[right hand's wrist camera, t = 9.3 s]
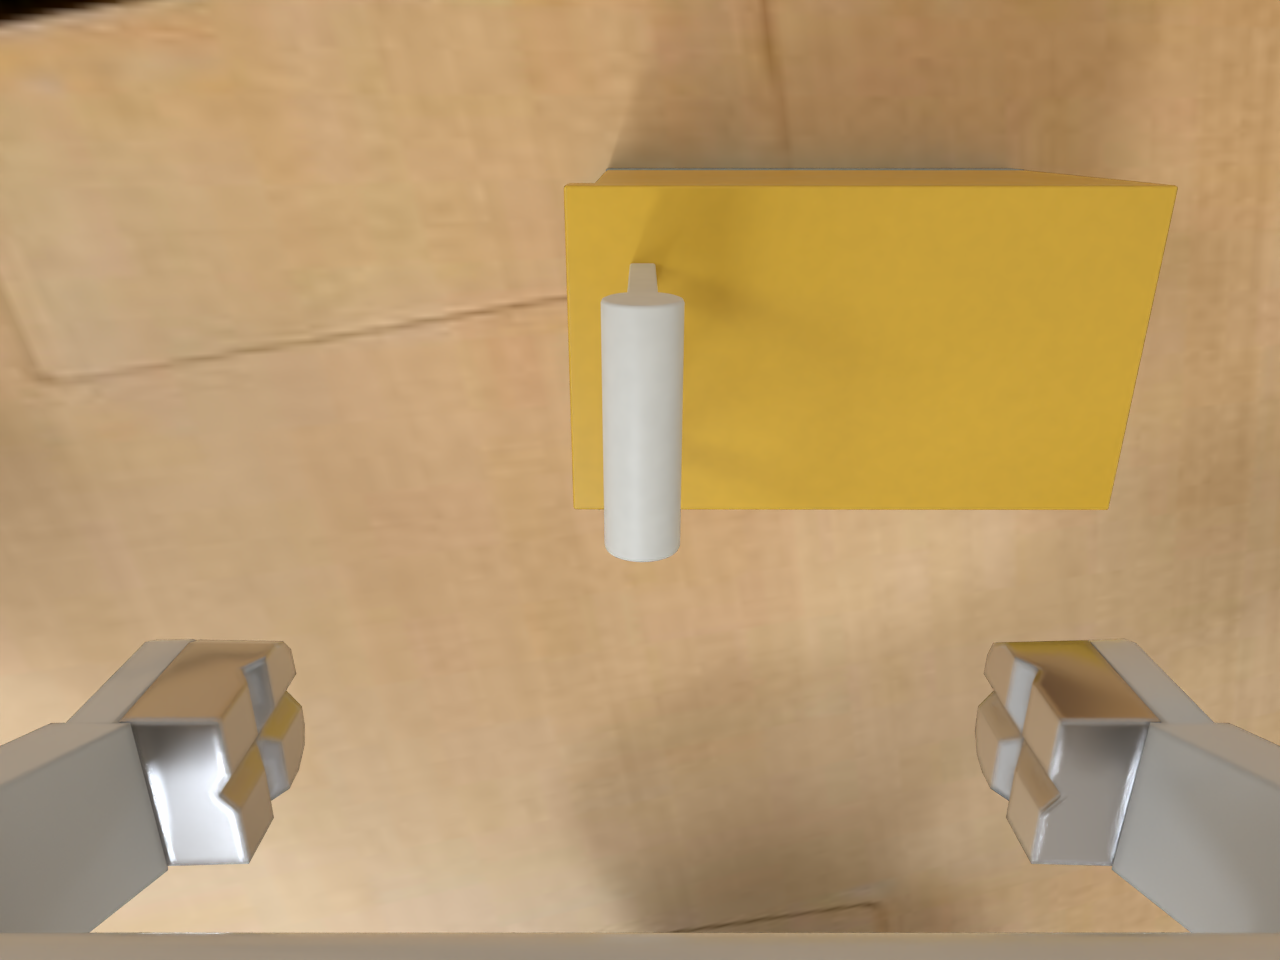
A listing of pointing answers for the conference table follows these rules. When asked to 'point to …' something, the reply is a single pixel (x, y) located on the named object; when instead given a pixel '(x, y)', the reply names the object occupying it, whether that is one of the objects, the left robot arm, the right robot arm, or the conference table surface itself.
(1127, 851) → the right robot arm
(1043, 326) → the lid
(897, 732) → the conference table surface
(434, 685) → the conference table surface
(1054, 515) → the conference table surface
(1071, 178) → the chest
